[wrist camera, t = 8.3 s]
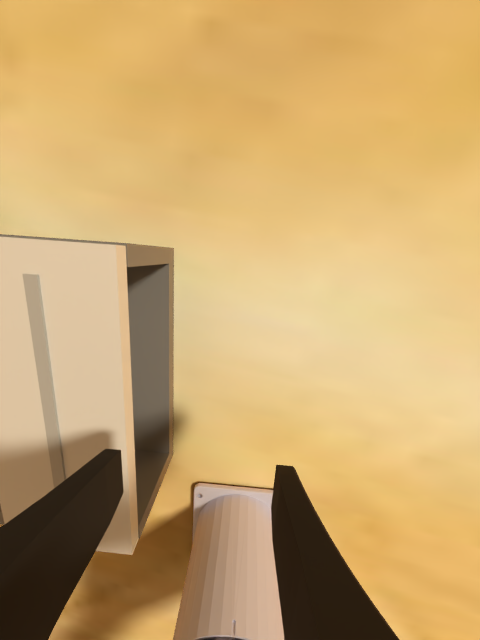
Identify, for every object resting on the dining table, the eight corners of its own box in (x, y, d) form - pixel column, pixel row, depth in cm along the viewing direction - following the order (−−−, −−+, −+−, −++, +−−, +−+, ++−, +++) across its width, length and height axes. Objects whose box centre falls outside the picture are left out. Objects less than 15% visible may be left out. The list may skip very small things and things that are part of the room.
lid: (138, 539, 15) (131, 557, 14) (21, 526, 15) (6, 544, 14) (125, 245, 11) (114, 244, 10) (-38, 234, 11) (-64, 231, 10)
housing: (173, 454, 21) (139, 538, 15) (-30, 434, 22) (-147, 508, 15) (173, 248, 17) (126, 243, 11) (-79, 230, 18) (-268, 215, 11)
